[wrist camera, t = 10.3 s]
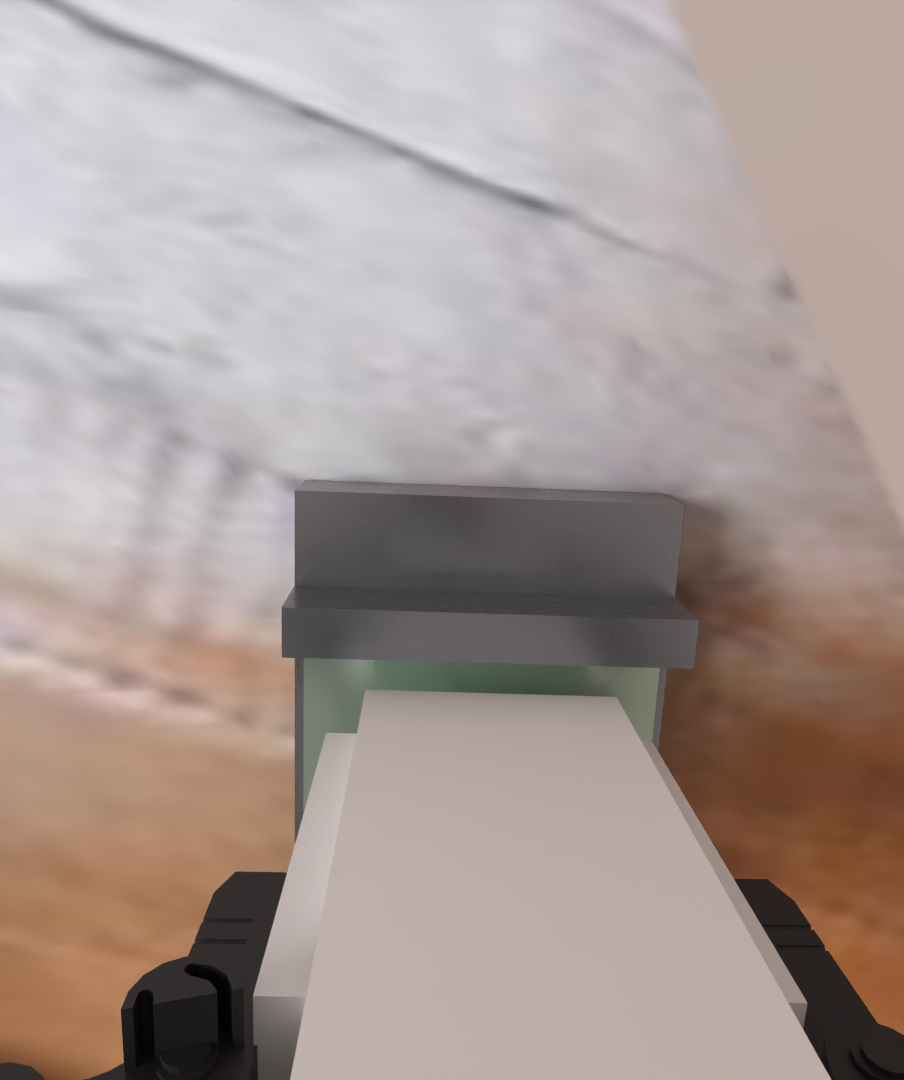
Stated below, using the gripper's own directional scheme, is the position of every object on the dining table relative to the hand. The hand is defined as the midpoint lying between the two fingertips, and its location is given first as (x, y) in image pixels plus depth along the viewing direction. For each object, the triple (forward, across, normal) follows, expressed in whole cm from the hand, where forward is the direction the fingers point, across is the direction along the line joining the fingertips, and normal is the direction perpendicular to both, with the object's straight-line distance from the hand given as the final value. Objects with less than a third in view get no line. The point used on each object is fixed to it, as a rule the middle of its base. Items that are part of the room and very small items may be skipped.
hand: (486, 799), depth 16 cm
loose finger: (0, 0, 0) cm, 0 cm away
